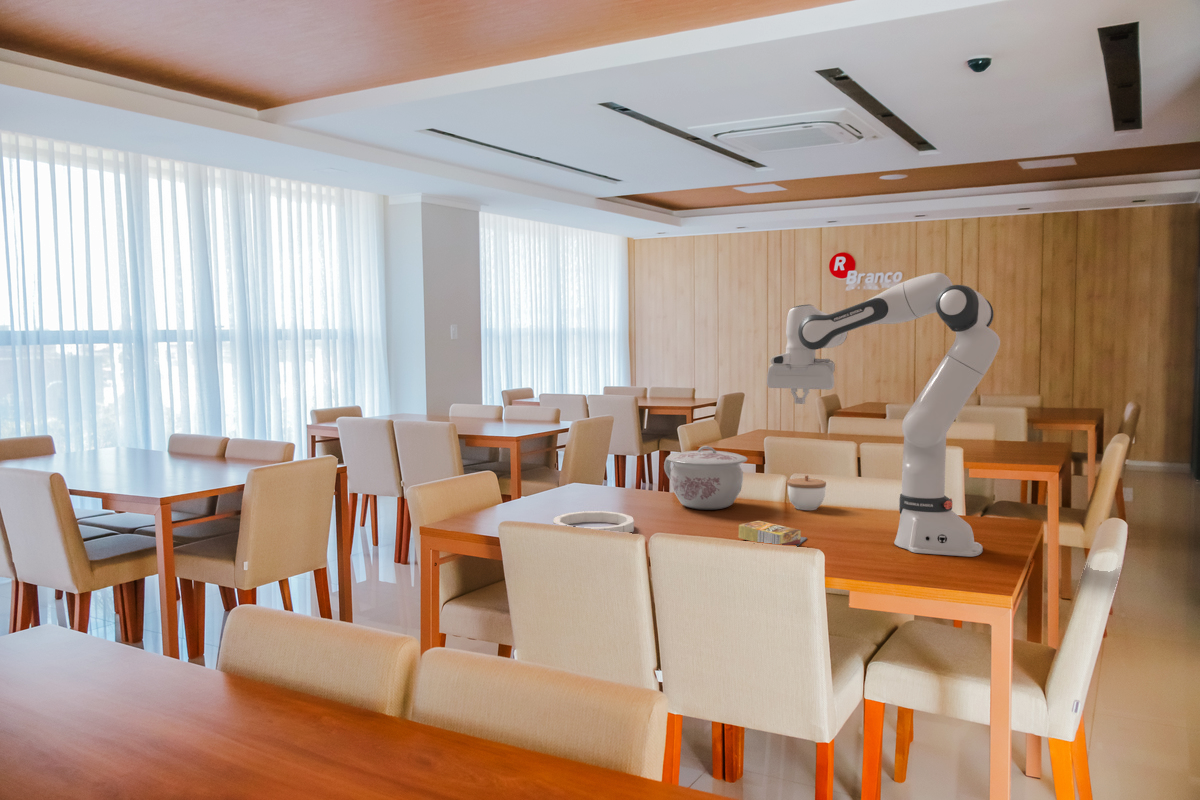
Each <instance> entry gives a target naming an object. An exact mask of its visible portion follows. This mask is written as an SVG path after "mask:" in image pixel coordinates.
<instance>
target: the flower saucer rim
mask: <svg viewBox="0 0 1200 800" xmlns="http://www.w3.org/2000/svg"><path fill="white" fill-rule="evenodd" d="M552 523H553V524H558V525H567V526H572V525H573V524H582V523H609V524H615V525H607V526H583V527H584V528H591V529H599V530H610V531H619V532H632V533H634V531H635V520H634V518H633V516H631V515H629V514H626V513H622V512H614V511H605V510H597V511H596V510H593V511H592V510H587V511H585V510H584V511H583V510H582V511H575V512H569V513H568V512H567V513H562V514H561V515H558V516H554V518H553V521H552ZM553 524H552V525H553ZM575 526H576V527H580V526H577V525H575Z"/></svg>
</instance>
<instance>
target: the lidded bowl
mask: <svg viewBox="0 0 1200 800" xmlns="http://www.w3.org/2000/svg"><path fill="white" fill-rule="evenodd" d="M786 485H787V496H788V499H789V502H790V503H791V504H792V505H793V506H794V508H795V509H796V510H800V511H815V510H816V511H817V510H818V508H819V507H820V506H821V505H822V503H824V499H825V496H826V486H827V482H826V481H825V480H823V479H818V478H809V475H804V478H803V477H801V478H790V479H788V480H787V482H786Z"/></svg>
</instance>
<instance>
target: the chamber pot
mask: <svg viewBox="0 0 1200 800" xmlns="http://www.w3.org/2000/svg"><path fill="white" fill-rule="evenodd" d="M747 461H748V457H746V456H745V455H741V454H739V453H736V452H735V453H734V452H729V451H724V450H723V451H722V450H716V449H714V448H713V447H712V446H709V445H703V446H701V447H699V448H698V450H687V451H681V452H675V453H670V454H669V455H667V457H665V460H664V462H663V464H664V465H663V469H664V473H665V475H666V476H667V478H668V479H669V480H670V484H671V489H672V491H673V492H674V494H675V496H676V498H677V499H678V502H680V504H681V505H683V506H684V507H687V508H690V509H692V510H700V511H701V510H702V511H716V510H722V509H726V508H728V507H730V506H732V505H733V504H734V502H735V501H736V499H737V498H738V496H739V495H740V493H741V491H742V487H743V481H744V472H743V470H742V468H741V464H742V463H746V462H747ZM671 463H672V464H673V466H672V468H671Z"/></svg>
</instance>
